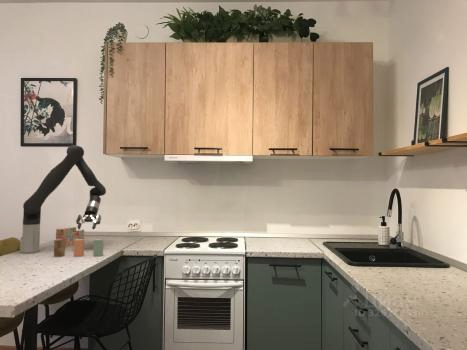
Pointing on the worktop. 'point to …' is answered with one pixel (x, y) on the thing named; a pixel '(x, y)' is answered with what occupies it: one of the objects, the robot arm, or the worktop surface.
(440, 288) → the worktop surface
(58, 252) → the walnut block
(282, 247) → the worktop surface
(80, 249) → the terracotta block
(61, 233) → the stack of blocks
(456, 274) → the worktop surface
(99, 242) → the sage green block
